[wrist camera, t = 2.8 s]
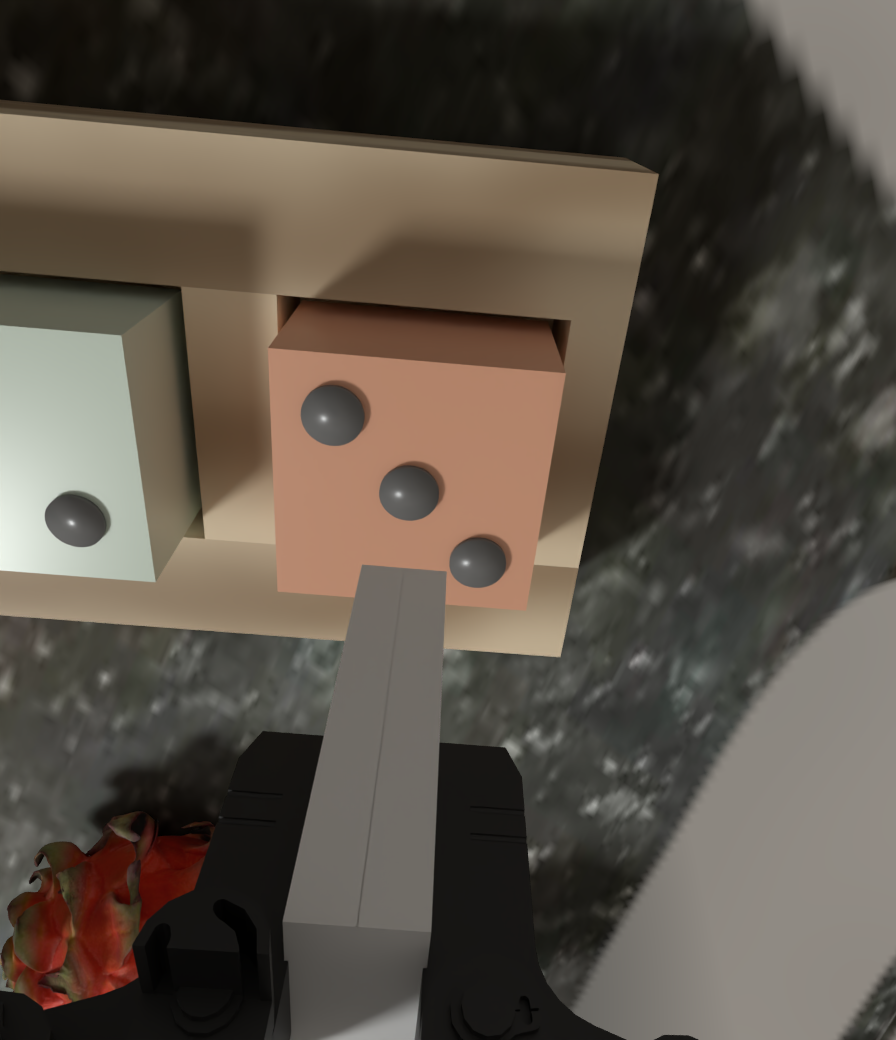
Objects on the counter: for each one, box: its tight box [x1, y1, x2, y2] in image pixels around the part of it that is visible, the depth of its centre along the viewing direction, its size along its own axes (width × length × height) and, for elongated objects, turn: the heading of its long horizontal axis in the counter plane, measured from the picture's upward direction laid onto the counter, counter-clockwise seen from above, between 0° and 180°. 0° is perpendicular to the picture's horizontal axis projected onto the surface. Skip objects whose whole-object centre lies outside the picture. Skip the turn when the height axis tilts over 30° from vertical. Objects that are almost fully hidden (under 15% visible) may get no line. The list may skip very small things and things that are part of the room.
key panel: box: [0, 100, 659, 657], centre depth 22 cm, size 14×29×4 cm, turn 85°
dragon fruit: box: [0, 811, 215, 1010], centre depth 32 cm, size 8×8×12 cm
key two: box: [0, 274, 202, 582], centre depth 19 cm, size 6×6×4 cm
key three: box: [268, 300, 566, 611], centre depth 19 cm, size 6×6×4 cm
